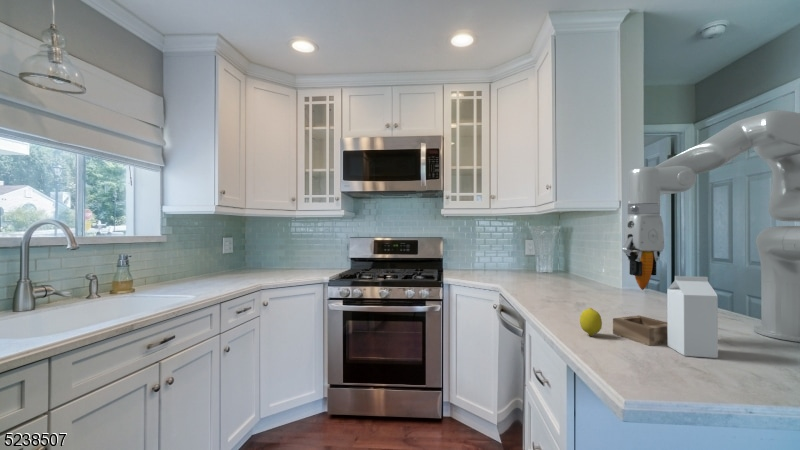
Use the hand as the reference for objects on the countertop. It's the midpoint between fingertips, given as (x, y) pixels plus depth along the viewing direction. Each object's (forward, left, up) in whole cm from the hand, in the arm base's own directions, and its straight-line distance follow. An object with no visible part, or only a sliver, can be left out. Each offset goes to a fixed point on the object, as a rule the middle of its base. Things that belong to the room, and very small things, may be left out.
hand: (642, 274), depth 97 cm
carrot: (0, 0, -5) cm, 5 cm away
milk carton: (0, +12, -18) cm, 22 cm away
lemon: (+13, -6, -18) cm, 23 cm away
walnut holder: (0, 0, -18) cm, 18 cm away
